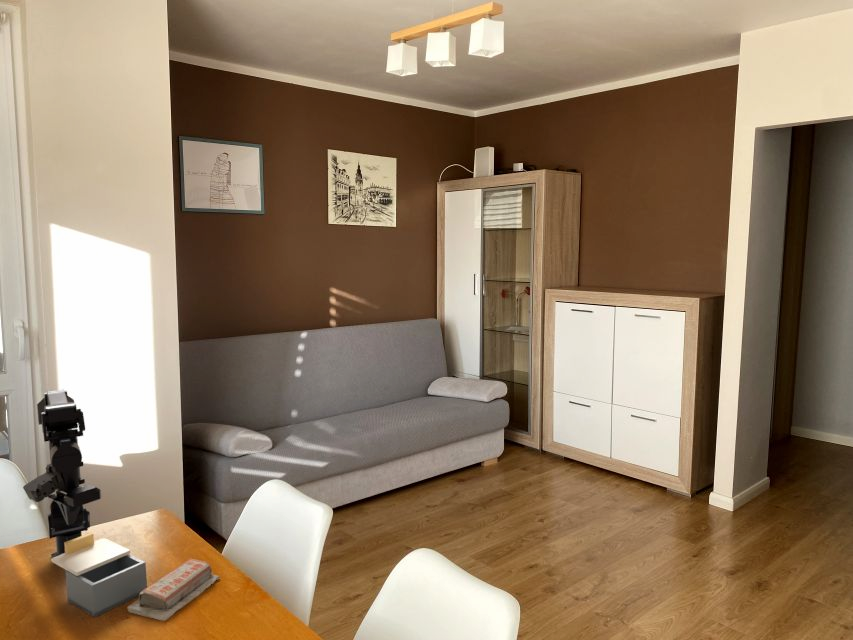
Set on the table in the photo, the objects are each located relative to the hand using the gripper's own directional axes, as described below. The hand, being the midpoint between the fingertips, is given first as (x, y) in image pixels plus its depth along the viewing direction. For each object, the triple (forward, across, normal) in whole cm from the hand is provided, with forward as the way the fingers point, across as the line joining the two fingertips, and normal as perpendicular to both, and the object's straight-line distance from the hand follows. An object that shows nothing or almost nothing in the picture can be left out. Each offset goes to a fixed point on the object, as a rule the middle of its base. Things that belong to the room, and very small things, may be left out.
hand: (70, 524), depth 152 cm
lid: (+6, +9, 0) cm, 10 cm away
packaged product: (+14, +26, +9) cm, 31 cm away
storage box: (+13, +14, 0) cm, 19 cm away
